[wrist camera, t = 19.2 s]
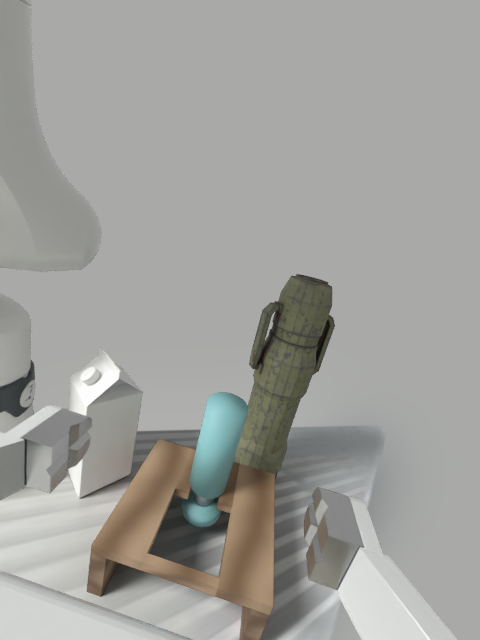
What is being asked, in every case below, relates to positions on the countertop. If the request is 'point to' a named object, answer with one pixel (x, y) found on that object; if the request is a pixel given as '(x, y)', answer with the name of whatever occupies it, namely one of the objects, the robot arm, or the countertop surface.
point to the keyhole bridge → (240, 544)
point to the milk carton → (105, 422)
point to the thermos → (284, 368)
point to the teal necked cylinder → (214, 457)
